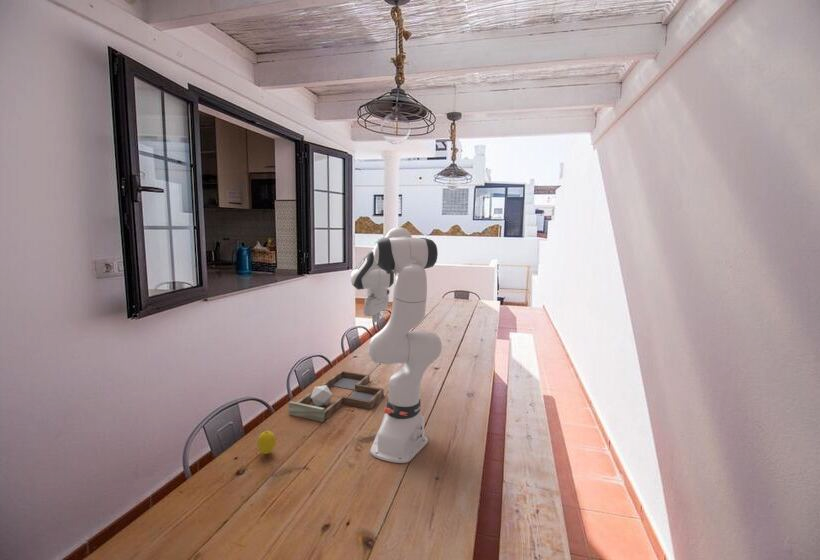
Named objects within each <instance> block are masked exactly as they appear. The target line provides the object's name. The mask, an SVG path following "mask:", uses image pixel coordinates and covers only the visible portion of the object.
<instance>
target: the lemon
mask: <svg viewBox="0 0 820 560" xmlns="http://www.w3.org/2000/svg"><path fill="white" fill-rule="evenodd" d="M256 443H257V449H258V451H259V452H260V453H262V454H264V455H268V454H270V453H271V452H272V451H273V450H274V449H275V447H276V443H277V442H276V436H275V434H274V432H272V431H270V430H264V431H263V432H262V433H260V434H259V436H258V439H257V442H256Z"/></svg>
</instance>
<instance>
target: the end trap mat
mask: <svg viewBox="0 0 820 560" xmlns="http://www.w3.org/2000/svg"><path fill="white" fill-rule="evenodd" d="M359 381H360V380H354V379H349V378H341V379H340V380H338V381H337V382H336V383H334V384H333V385H332V386H331V387H335V388H340V389H347V390H351V391H355V385H356V384H357V383H358V382H359Z"/></svg>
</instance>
